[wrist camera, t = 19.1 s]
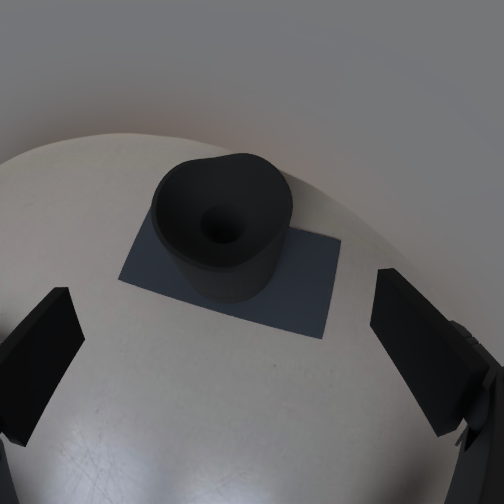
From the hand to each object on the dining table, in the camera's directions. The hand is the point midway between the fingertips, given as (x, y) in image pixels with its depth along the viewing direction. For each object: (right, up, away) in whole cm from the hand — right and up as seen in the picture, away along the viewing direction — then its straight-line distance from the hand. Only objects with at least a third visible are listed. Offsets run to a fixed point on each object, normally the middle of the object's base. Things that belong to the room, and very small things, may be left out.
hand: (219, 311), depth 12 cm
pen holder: (-1, +1, +17) cm, 17 cm away
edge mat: (-1, +1, +17) cm, 17 cm away
